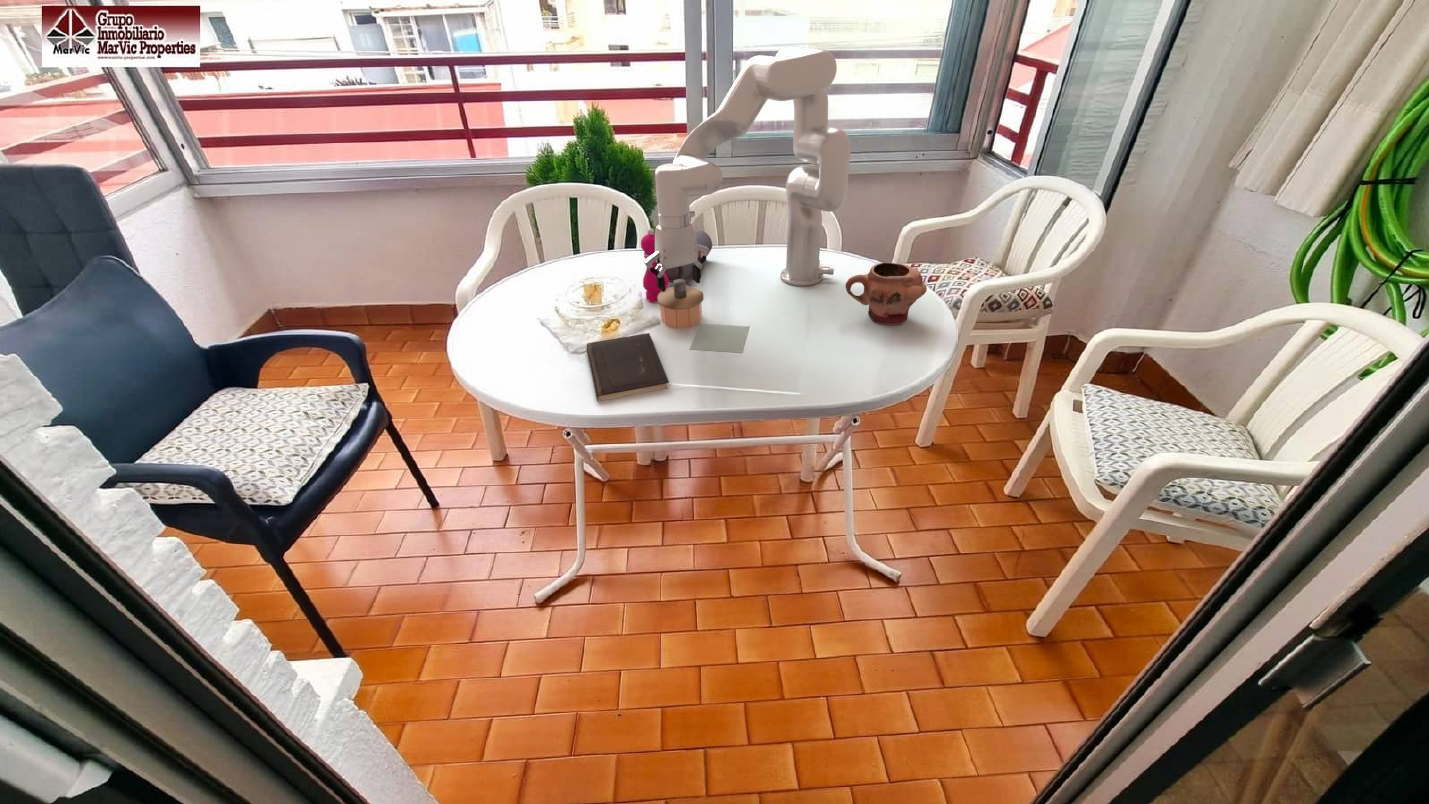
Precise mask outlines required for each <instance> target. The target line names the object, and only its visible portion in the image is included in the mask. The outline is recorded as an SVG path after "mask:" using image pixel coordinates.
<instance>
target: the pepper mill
mask: <svg viewBox="0 0 1429 804" xmlns="http://www.w3.org/2000/svg"><path fill="white" fill-rule="evenodd" d="M646 233H647V234H645V235H644V236H642V238H641V239H640V248H641V249H642V251H643V255H644V256H643V258H644V259H645V260H646V259H647V258H648V257H650V256H651V255H652V254H654V253H655V231H654V229H653V228H648V229H647V231H646ZM657 265H658V263H657V262H656V261H654V262H653V263H652V266H653V267H654V268H656V267H657ZM663 277H664V278H665V289H668V288H669V285H670V283H669V282H668V278H667V275H666V274H665V272H664V274H663ZM642 287H643V289H645V290H646V291H645V297H646V300H647V301H649V302H651V303H652V302H653V303H658V298H657V297H658V294H659V293H660V292H661V290H660V289H659V288H658V287H657V282H656V275H655V274H653V273H652V272H651V271H650V270H649V269H648V268H647V267H646V270H645V273H644V275H643V280H642Z"/></svg>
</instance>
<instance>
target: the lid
mask: <svg viewBox="0 0 1429 804" xmlns="http://www.w3.org/2000/svg"><path fill="white" fill-rule="evenodd" d="M672 284H673V286H672V287H667V288H666V291H665V292H662V291H661V292H660V293H659V294H658V297H657V298H658V302H657V303H658V304H659V306H660V305H661V306H663V307H665V308H669V309H688V308H692V307H695V306H697V305H699V304H700V303H701V304H702V302H703V301H704V299H705V298H704V292H703V291H702V290H701V289H699V288H697V287H694V286H691V285H690V286H689V285H687V282H686V279H684V280H683V279H677V280H674V281H673V283H672Z"/></svg>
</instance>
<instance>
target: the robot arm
mask: <svg viewBox="0 0 1429 804" xmlns="http://www.w3.org/2000/svg"><path fill="white" fill-rule="evenodd" d="M837 69H838V68H837V60H836V59H835V56H834V55H833V53H832V52H830V51H829V50H827V49H824V48H823V49H822V48H817V47H816V48H813V47H805V46H796V45H794V46H793V45H792V46H785V47H782V48H781V49H780V50H778V51H777V52H776V54H775V56H773V55H772V56H771V55H764V54H763V55H761V54H760V55H754V56H752V57H749V59H748V60H746V62H745V64H744V65H743V66H742V68H741V70H740V72H739V73H738V75H737V77H736V78H735V80H734V82H733V83H732V85H731V87H730V88H729V90H728V92H727V93H726V95H725V96H724V98H723V99H722V101H721V103H720V105H719V107H718V108H717V109H716V111H715V112H714V113H712V114H711V115H709V116H707V118H706V119H705V120H703V121H702V122H701V123H699V125H697V126H696V127H695V128H694V129H693V130H692V131H691V132H690V133H689V134H688V135H687V136H686V138H685V140H684V141H683V143H682V144H681V146H680V147H679V149H678V151H677V153H676V155H675V157H674V159H673V161H672V163H665V164H661V165H659V166H657V167H656V168H655V171H654V178H655V189H656V190H655V191H656V202H657V211H658V212H657V213H658V224H657V225H656V226H655V231H654V234H655V253H654V254H652V255H651V256H650V257H648V258H647V259H645V260H644V261H643V263H644V265H645V267H646V268H648V269H649V270H650V271H651V272H652V273H653V274H655V275H656V282H657V287H658V288H659V289H660V290H661V291H662V292H665V291H666V289H667V288H666V289H665V278H664V277H663V274H664V272H665V271H666V269H669V268H674V267H679V266H683V265H687V264H691V263H693V264H694V265H692V274H691V275H692V277H691V278H692V281H694V282H695V283H697V284H700V283H701V278H702V270H701V269H702V268H703V265H704V263H705V262H706V261H707V257H708V255H709V254H710V253H709V248H707V247H705V246H702V245H699V244H697V240H696V235H695V231H696V230H695V228H694V227H695V226H694V224H693V222H692V218H693V217H694V218H695V217H696V212H695V211H694V210H693V211H692V210H691V209H690V197H696V196H699V197H700V196H708V195H712V194H714V193H716V192H718V190H719V189H720V188H721V187H722V184H723V179H724V178H723V177H724V176H723V172H722V170H721V168H720V167H719V166H718V165H717V164H716V163H714V162H712V161H710V160H707V159H706V158H708V156H709V155H710V153H711V152H713V150H714V149H716V148H717V147H719V146H720V145H722V144H724V143H726V142H727V143H728V142H729V141H732V140H736V139H739V138H740V137H743V136H745V135H746V134H747V133H748V132H749V131H750V129H751V127H752V125H753V124H754V122H755V120H756V119H757V117H758V115H759V114H760V112H761V111H762V109H763V107H764V106H765V104H766V103H767V102H768V100H771V101H777V102H786V101H791V100H792V101H793V109H794V110H793V111H794V112H793V113H794V114H793V115H794V116H793V138H792V139H793V140H792V147H793V148H792V149H793V154H794V156H795V157H796V159H798V160H800V161H802V162H805V163H808V164H811V166H809V165H799V166H797V167H795V168H794V169H792V170H791V172H790V173H789V174H788V176H787V178H786V182H785V183H786V184H785V193H786V199H787V207H788V208H787V210H788V212H787V214H788V219H787V220H788V221H787V235H786V236H787V239H786V241H787V242H786V259H785V260H786V263H785V268H784V269H782V270H781V272H780V279H781V280H782V281H783V282H784V283H786V284H788V285H792V286H797V287H798V286H801V287H803V286H804V287H806V286H814V285H816V284H818V283H820V282H821V281H822V280H823V278H824V275H829V276H833V275H834V272H835V268H834V267H831V265H823V264H821V259H820V253H821V252H820V251H821V239H822V229H823V214H822V213H823V212H829V213H830V212H835V211H837V210H838V209H839V208H840V207H841V206H842V204H843V203H844V202H845V198H846V196H847V192H848V183H849V173H850V165H851V164H850V163H851V151H852V150H851V149H852V147H851V141H850V138H849V136H848V134H847V133H846V131H844V130H843V129H841V128H839V127H835V126H832V125H831V126H830V125H829V98H828V97H829V96H828V91H827V89H828V88H829V87H830V86H831V85H832V83H833V81H834V80H835V78H836V75H837ZM812 165H815V166H817V167H818V168H817V167H814V166H812ZM822 211H823V212H822ZM698 250H699V251H702V253H701V255H700V256H699V257H698ZM708 253H709V254H708ZM654 261H656V262H657V263H658V265H657V267H656V268H654V267H653V266H652V263H653V262H654Z"/></svg>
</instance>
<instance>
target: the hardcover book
mask: <svg viewBox="0 0 1429 804" xmlns="http://www.w3.org/2000/svg"><path fill="white" fill-rule="evenodd" d="M586 345H587V349H586V353H587V357H588V363H589V367H590V373H591V377H592V383H593V385H594V386H593V387H594V391H595V397H596V400H597V402H598V400H600V401H604V400H603V399H605V400H609V398H611V399H615V398H621V397H626V396H631V395H636V394H642V393H647V392H653V391H658V390H664V389H668V384H669V383H670V381H669V380H668V379H669V378H668V376H667V374H666V370H665V368H664V366H663V363H662V362H661V359H660V356H659V353H658V351H657V348H656V346H655V343H654V341H653V337H652V336H651V333H650V332H647V333H640V334H635V335H629V336H623V337H617V338H610V339H605V340H604V339H603V340H600V341H592V342H588V343H586Z"/></svg>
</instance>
